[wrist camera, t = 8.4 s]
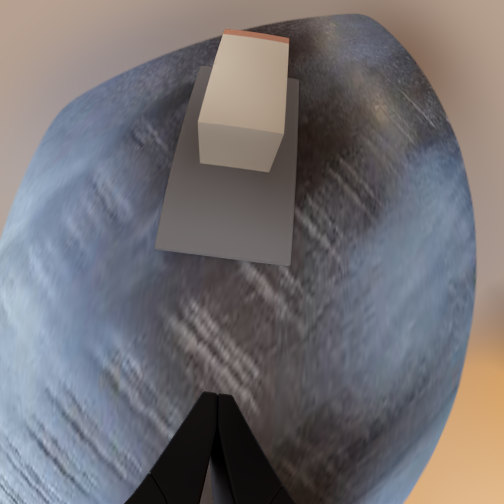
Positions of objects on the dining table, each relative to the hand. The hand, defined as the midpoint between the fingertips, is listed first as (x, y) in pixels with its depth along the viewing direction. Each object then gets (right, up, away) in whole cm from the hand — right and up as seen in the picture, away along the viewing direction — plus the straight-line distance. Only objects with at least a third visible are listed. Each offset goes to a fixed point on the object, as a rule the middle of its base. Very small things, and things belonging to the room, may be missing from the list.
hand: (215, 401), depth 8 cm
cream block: (0, +11, +11) cm, 15 cm away
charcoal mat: (0, +12, +14) cm, 19 cm away
